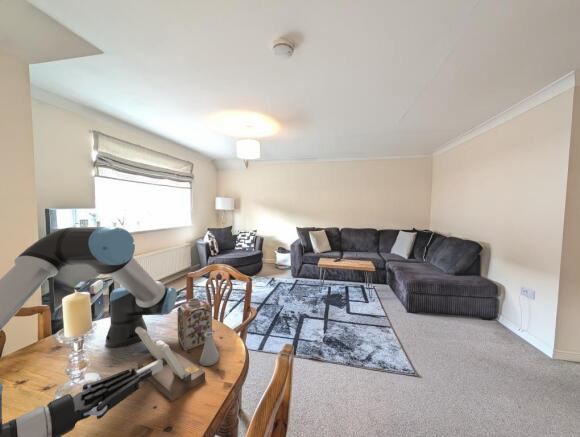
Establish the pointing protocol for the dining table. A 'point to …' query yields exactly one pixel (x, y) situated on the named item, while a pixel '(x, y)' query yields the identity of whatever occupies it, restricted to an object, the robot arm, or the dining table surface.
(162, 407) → the dining table surface
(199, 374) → the switch panel
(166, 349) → the switch
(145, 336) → the switch
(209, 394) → the dining table surface
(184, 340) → the decorative jar
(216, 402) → the dining table surface
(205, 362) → the flask
